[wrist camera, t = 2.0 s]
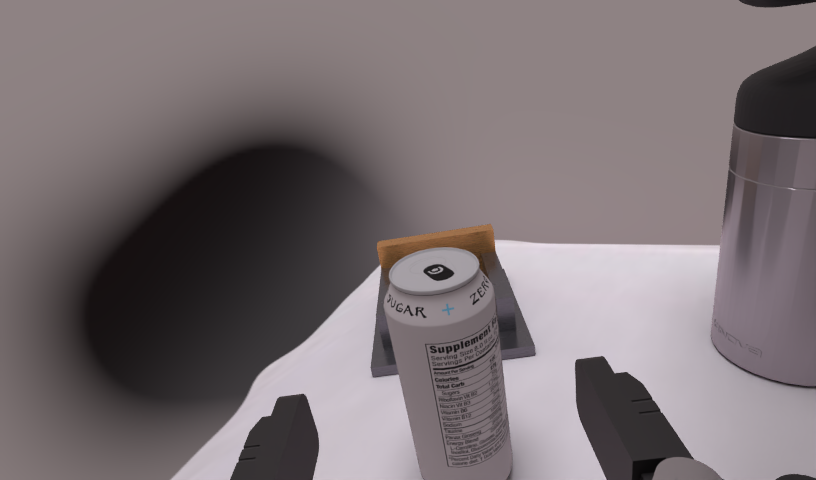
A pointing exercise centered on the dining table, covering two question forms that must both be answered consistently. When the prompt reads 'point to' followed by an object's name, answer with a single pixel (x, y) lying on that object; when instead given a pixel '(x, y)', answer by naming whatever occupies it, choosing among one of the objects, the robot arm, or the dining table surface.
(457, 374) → the energy drink can
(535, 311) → the dining table surface
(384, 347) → the keeper cradle
